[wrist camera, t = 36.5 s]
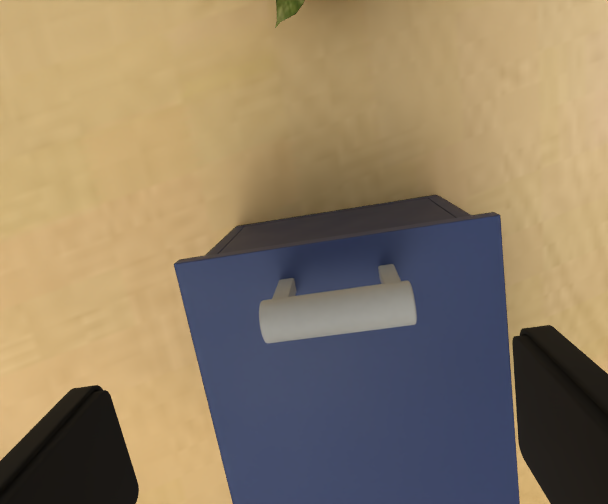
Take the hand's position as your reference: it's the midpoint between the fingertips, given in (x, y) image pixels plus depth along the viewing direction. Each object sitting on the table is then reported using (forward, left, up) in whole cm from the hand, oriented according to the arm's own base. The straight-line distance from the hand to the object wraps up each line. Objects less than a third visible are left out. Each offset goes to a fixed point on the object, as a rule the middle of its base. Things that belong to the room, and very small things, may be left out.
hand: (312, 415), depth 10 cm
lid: (+7, +1, -11) cm, 13 cm away
